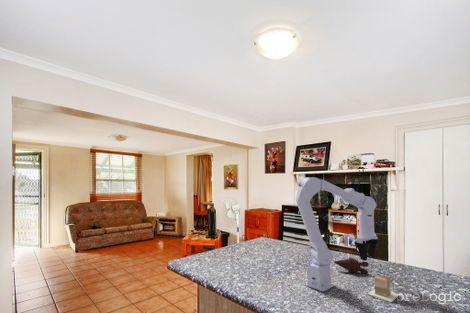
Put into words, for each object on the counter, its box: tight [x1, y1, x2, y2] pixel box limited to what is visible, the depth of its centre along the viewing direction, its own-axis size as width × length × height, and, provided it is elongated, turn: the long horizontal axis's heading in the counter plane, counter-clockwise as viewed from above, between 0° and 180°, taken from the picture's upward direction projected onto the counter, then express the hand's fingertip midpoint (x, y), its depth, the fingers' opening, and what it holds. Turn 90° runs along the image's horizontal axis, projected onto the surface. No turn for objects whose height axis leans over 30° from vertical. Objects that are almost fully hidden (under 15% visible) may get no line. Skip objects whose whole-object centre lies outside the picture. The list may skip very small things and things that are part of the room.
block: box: [373, 274, 392, 297], centre depth 96 cm, size 4×4×6 cm
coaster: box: [367, 288, 400, 304], centre depth 96 cm, size 8×8×1 cm
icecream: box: [333, 257, 370, 275], centre depth 121 cm, size 7×7×15 cm
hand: (367, 258), depth 107 cm, fingers open, 7 cm apart
